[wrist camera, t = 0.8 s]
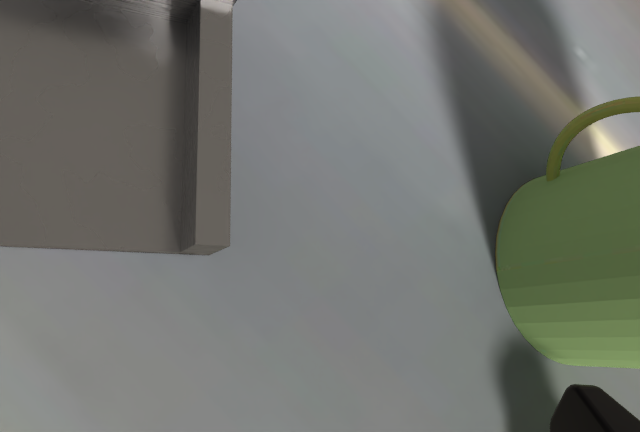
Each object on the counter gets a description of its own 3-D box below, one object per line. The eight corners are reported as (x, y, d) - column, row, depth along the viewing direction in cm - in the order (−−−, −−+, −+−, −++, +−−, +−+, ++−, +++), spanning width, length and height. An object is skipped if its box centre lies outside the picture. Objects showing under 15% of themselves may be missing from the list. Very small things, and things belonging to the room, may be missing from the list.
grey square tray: (210, 255, 22) (236, 244, 19) (-154, 239, 17) (-185, 221, 15) (214, 9, 24) (238, -31, 22) (-109, -69, 19) (-129, -133, 17)
